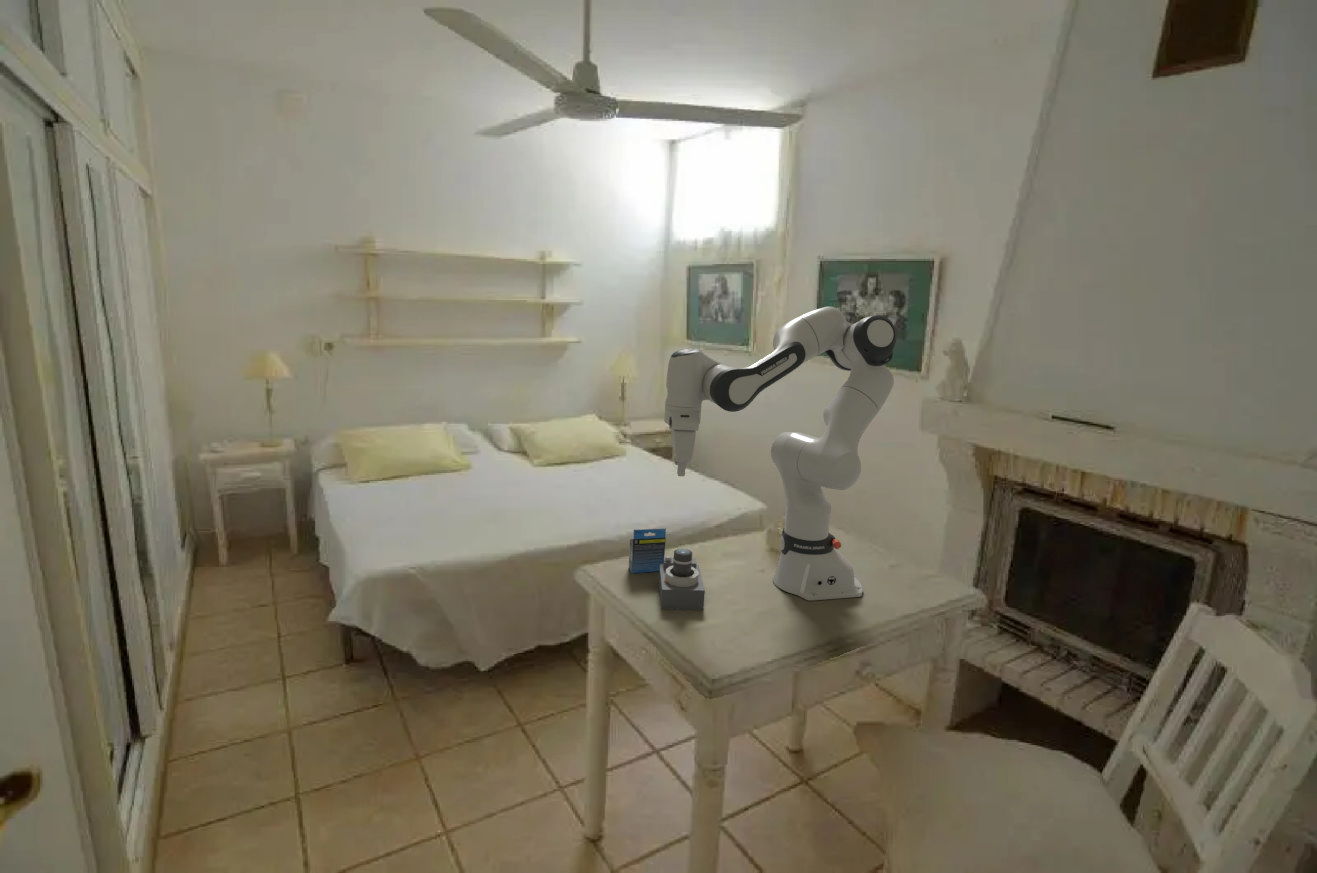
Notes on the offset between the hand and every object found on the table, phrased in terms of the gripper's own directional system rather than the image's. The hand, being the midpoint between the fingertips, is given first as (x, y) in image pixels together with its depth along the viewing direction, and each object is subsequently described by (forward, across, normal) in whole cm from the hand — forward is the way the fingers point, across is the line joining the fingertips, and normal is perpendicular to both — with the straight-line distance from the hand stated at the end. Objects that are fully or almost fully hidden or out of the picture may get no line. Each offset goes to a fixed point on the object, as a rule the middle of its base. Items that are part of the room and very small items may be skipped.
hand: (679, 469), depth 165 cm
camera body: (+29, +10, +1) cm, 31 cm away
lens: (+24, +12, +1) cm, 27 cm away
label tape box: (+29, -4, -7) cm, 30 cm away
